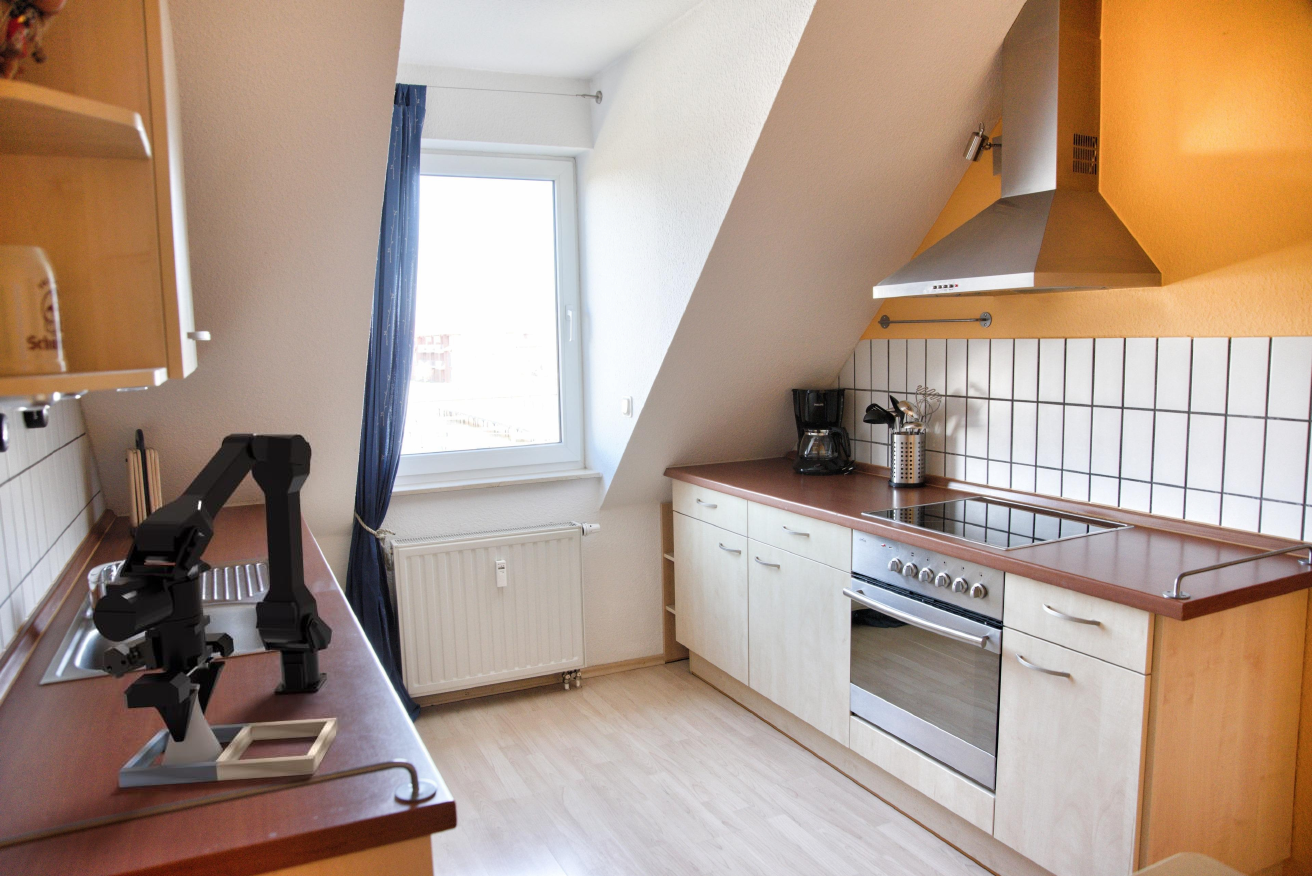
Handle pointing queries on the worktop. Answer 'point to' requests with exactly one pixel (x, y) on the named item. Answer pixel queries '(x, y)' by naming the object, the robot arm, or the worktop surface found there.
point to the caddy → (233, 754)
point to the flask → (194, 741)
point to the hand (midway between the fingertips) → (189, 731)
